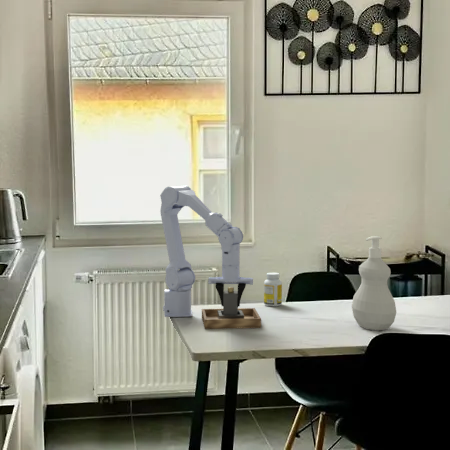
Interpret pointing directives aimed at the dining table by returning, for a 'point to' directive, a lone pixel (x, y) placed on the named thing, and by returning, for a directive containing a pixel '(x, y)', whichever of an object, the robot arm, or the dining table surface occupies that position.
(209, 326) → the walled box
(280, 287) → the pill bottle
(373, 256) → the soap bottle
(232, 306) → the connector plug
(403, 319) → the dining table surface
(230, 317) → the collar
